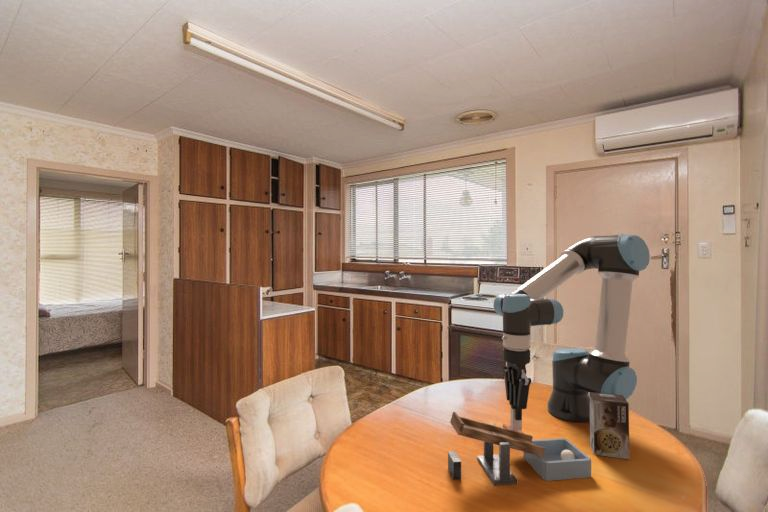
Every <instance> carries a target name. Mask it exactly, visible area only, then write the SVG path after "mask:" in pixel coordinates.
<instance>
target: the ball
mask: <svg viewBox="0 0 768 512" xmlns="http://www.w3.org/2000/svg"><path fill="white" fill-rule="evenodd" d="M561 459H562V460H573V459H575V456H574V454H573V453H572V452H571V451H570V450H563V451H562V452H561Z"/></svg>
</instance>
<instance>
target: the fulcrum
mask: <svg viewBox="0 0 768 512" xmlns="http://www.w3.org/2000/svg"><path fill="white" fill-rule="evenodd" d="M489 424H490V425H494V424H493V423H489ZM498 448H499V449H498V454H497V453H496V454H494V444H492V443H488V442H484V441H483V455H477V457H476V460H477V461H478V463H479V464H480V466H481V467H482V469H483V470H484V472H485V473H486V474H487V476H488V478H489V480H490V481H491V482H492V484H493V486H502V485H503V486H504V485H517V484H518V479H517V478H516V476H515V475H514V473H513V472H512V471H511V448H510V444H509V443H508V442H503V443H499V445H498ZM447 469H448V471H449V474H450V475H451V478H452V480H453V481H456V480H462V461H461V458H460V457H459V455H458V454H457V452H456V451H447Z"/></svg>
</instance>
